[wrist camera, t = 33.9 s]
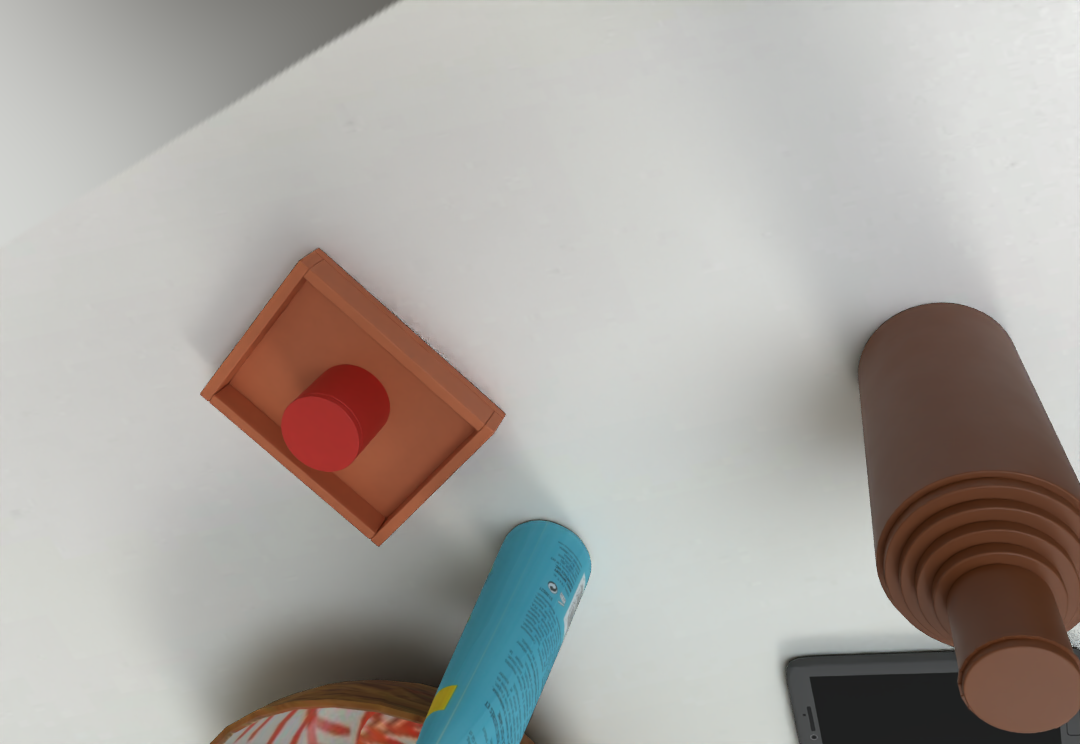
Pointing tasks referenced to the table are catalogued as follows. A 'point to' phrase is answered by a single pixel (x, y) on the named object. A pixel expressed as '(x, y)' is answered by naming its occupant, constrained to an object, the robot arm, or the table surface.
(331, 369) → the cap
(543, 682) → the tube
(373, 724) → the bowl
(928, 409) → the bottle
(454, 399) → the tray
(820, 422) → the table surface
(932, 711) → the cell phone
